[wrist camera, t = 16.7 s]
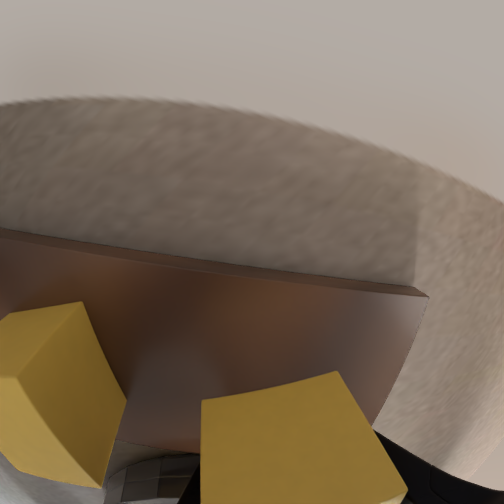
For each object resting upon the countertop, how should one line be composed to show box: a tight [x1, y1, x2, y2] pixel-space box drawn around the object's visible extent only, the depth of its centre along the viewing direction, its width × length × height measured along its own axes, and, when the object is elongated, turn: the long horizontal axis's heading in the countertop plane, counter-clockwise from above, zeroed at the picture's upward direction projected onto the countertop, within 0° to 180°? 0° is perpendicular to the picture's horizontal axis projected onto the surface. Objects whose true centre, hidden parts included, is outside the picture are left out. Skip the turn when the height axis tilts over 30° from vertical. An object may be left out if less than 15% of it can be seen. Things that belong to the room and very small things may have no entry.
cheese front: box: [200, 371, 408, 504], centre depth 6 cm, size 4×4×4 cm
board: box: [0, 228, 429, 453], centre depth 10 cm, size 20×9×1 cm, turn 80°
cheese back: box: [0, 301, 127, 488], centre depth 7 cm, size 4×4×4 cm
